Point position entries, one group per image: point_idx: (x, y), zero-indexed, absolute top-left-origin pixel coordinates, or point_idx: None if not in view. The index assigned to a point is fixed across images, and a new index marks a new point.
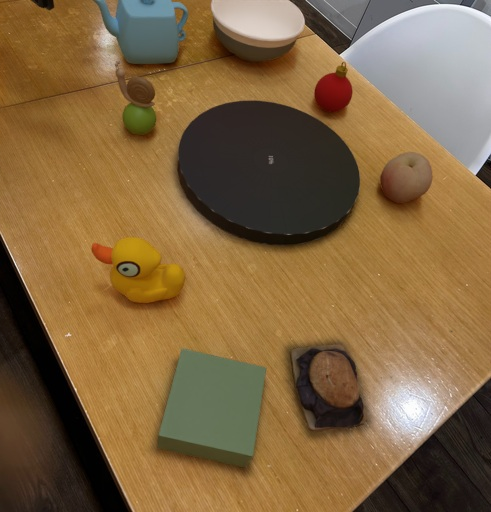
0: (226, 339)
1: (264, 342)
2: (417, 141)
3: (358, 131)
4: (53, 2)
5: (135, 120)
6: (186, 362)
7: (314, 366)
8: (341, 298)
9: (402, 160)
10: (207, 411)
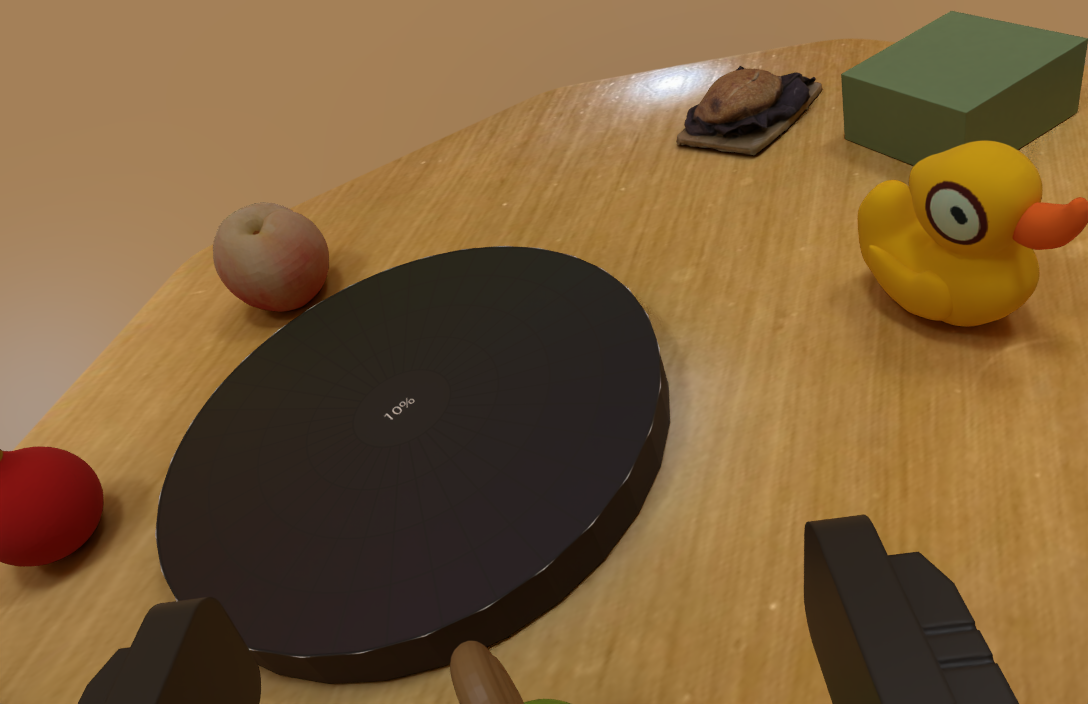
0: (842, 195)
1: (782, 176)
2: (108, 370)
3: (136, 443)
4: (805, 568)
5: None
6: (972, 96)
7: (755, 98)
8: (598, 193)
9: (252, 237)
10: (983, 48)
